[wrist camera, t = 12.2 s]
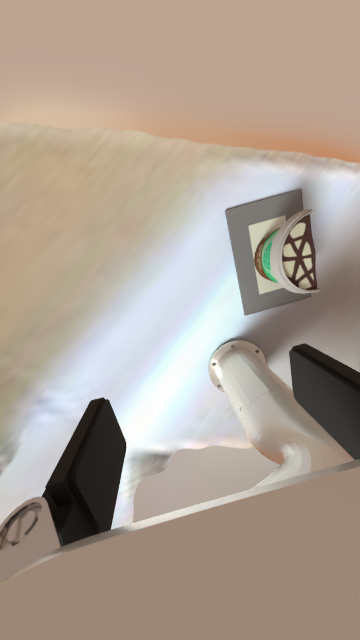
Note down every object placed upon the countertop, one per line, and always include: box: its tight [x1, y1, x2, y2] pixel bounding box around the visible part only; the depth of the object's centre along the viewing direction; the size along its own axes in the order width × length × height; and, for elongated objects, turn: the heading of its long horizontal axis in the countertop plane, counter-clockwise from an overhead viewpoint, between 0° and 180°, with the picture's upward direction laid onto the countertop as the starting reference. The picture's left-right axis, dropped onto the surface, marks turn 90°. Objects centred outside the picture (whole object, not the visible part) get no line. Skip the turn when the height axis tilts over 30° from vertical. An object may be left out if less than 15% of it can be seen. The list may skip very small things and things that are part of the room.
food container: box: [254, 210, 322, 294], centre depth 33 cm, size 12×6×10 cm, turn 17°
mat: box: [225, 189, 311, 316], centre depth 38 cm, size 20×14×1 cm
